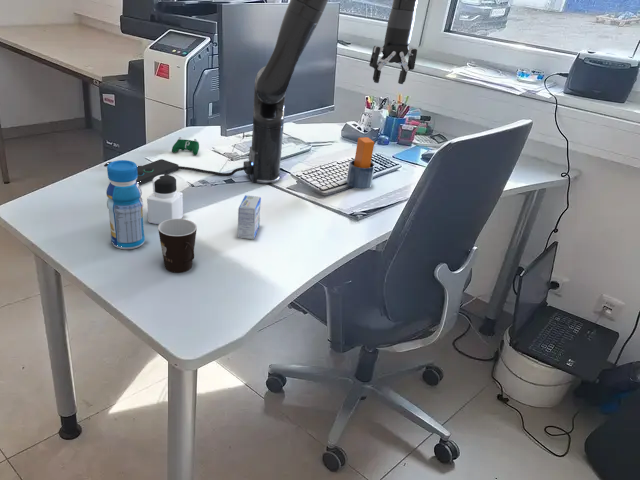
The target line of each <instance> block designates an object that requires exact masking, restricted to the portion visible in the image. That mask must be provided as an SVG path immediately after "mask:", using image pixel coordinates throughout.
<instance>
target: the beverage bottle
mask: <svg viewBox="0 0 640 480" xmlns="http://www.w3.org/2000/svg"><path fill="white" fill-rule="evenodd" d="M110 162H111V163H109V164H108V165H107V166H106V170H107V171H106V173H107V179H108V180H109V181H110V182H109V183H108V185H107V187H106V192H105V193H106V197H107V199H106V208H107V210H108V219H109V226H110V242H111V245H112V246H113V247H115V248H117V249H119V250H133V249H137V248H140V247H142V246H143V245H144V244H145V242H146V239H145V229H144V212H143V211H144V210H143V209H144V208H143V207H144V199H143V198H142V197H141V196H142V194H143V191H142V187H141V185H139V184H138V183H137V181H136V180H137V177H138V173H137V166H138V165H137V163H136V162H134V161H132V160H126V159H120V160H119V159H117V160H113V161H110ZM112 242H113V243H114V244H113V243H112ZM117 245H118V246H117ZM121 246H122V247H121Z"/></svg>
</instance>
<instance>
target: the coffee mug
mask: <svg viewBox="0 0 640 480" xmlns="http://www.w3.org/2000/svg"><path fill="white" fill-rule="evenodd" d="M197 229H198V226H197V224H196V223H195V222H194V221H191V220H189V219H186V218H181V219H169V220H166V221H163V222H161V223H160V224H157V231H158V235H159V236H158V237H159V242H160V247H161V254H162V259H163V265H164V269H165V270H166V271H168V272H171V273H174V274H183V273H186V272H188V271H190V270H191V269H192V267H193V261H194V259H195V246H196V238H197Z"/></svg>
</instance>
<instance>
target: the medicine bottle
mask: <svg viewBox="0 0 640 480" xmlns="http://www.w3.org/2000/svg"><path fill="white" fill-rule="evenodd" d="M183 195H184V194H183V192H181V191H178V190H177V179H176V177H175V176H174V175H171V174H167V175H159V176H156V177H154V178H153V180H152V193H151V194H150V195H149V196H148V197H147V198H146V204H147V205H146V206H147V221H148V223H150V224H153V225H154V224H155V225H159V224H160V223H161V222H163V221H166V220H169V219H183V217H184V196H183Z"/></svg>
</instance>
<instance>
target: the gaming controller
mask: <svg viewBox="0 0 640 480" xmlns="http://www.w3.org/2000/svg"><path fill="white" fill-rule="evenodd" d="M179 150H181V151H189V152H192V154H193V156H197V155H198V153H199V151H200V142H199V141H198V140H197V139H196V138H194V139H193V140H192V139H183V138H182V137H181V136H179V137H178V139H177V140H176V141H175V143H174V144H173V145H172V147H171V152H172V153H177V152H179Z"/></svg>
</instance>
